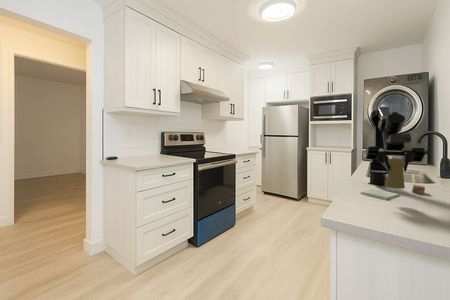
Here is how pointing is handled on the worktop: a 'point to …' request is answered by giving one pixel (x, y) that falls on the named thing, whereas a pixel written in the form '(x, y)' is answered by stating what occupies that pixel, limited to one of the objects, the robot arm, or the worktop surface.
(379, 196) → the baseplate
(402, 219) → the worktop surface
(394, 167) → the cork
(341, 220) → the worktop surface
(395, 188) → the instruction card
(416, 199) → the worktop surface
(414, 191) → the brick
